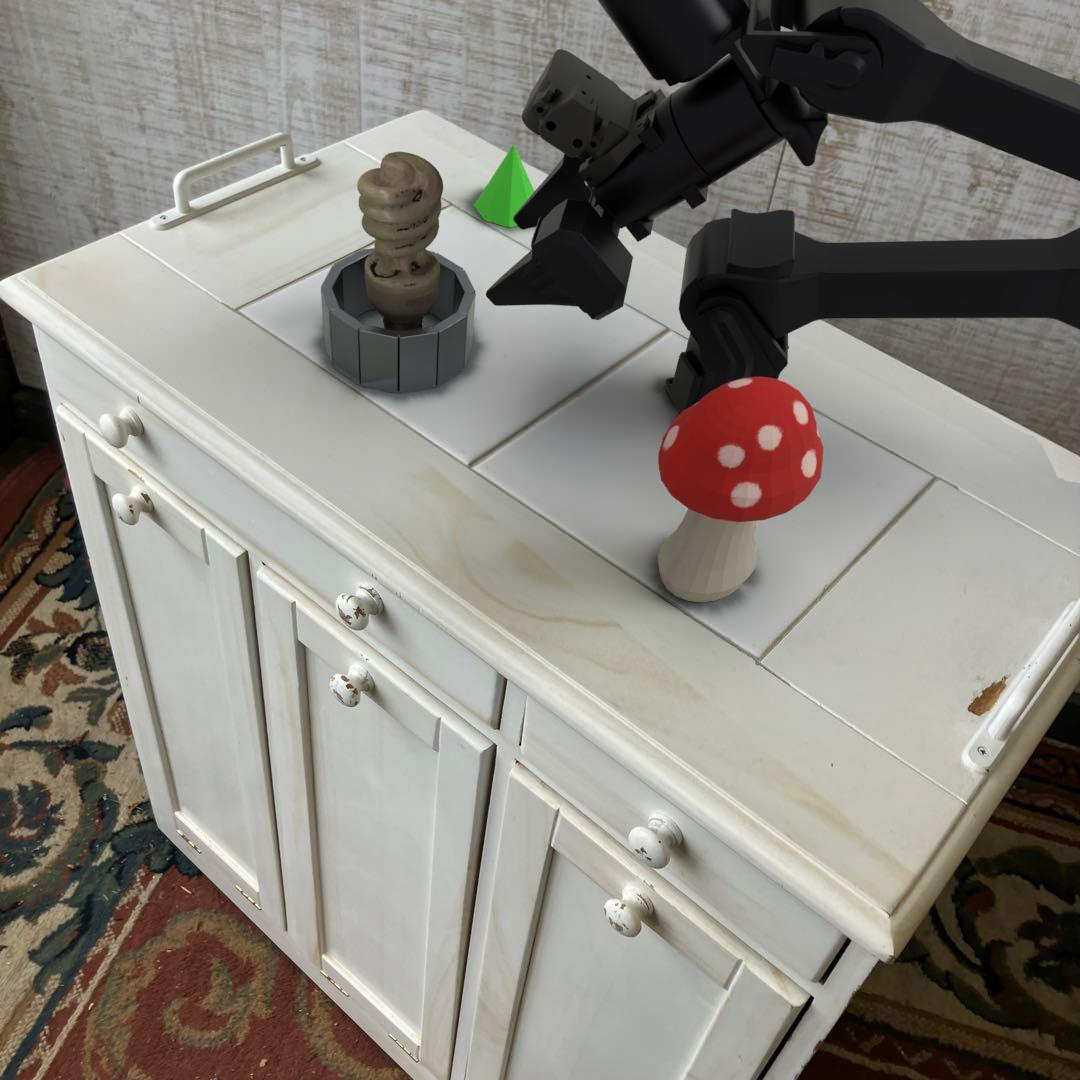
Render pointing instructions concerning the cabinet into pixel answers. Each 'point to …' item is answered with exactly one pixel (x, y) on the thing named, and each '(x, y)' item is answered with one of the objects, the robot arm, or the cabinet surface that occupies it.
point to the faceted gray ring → (392, 353)
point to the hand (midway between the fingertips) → (504, 259)
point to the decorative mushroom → (733, 480)
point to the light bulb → (401, 237)
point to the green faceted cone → (505, 191)
